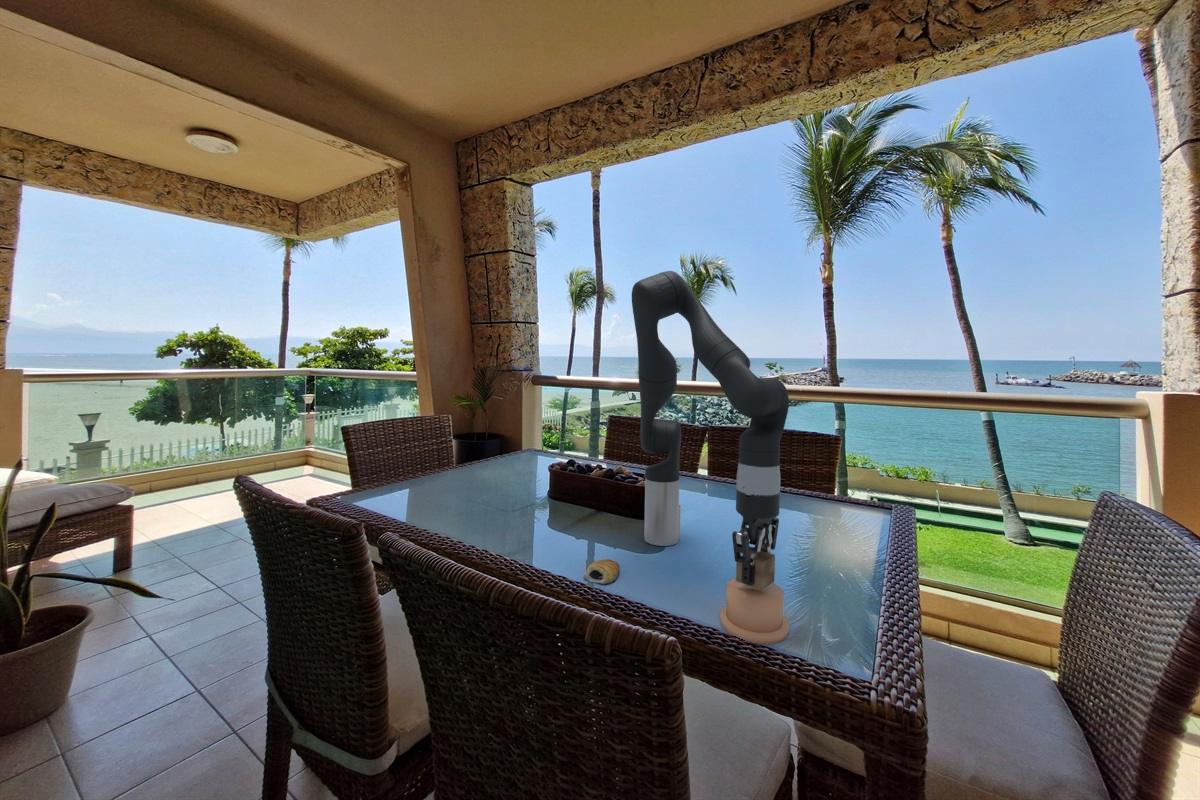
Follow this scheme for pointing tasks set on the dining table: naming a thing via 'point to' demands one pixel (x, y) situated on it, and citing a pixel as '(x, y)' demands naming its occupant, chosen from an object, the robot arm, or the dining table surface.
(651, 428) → the robot arm
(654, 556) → the dining table surface
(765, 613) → the upside-down peach bowl
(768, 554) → the walnut block
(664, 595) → the dining table surface
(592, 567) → the pastry
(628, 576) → the dining table surface
